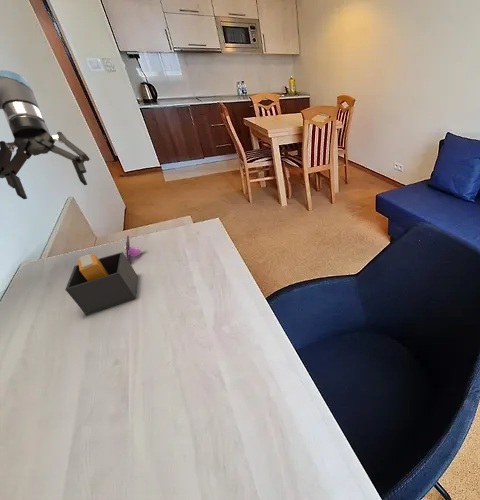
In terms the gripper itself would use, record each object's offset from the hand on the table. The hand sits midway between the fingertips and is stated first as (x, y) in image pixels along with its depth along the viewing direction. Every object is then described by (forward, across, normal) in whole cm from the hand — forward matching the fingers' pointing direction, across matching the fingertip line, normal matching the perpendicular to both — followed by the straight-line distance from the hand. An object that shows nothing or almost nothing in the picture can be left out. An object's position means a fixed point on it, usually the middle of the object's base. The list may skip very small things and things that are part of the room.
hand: (54, 189), depth 83 cm
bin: (+31, -1, -11) cm, 33 cm away
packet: (+30, 0, -10) cm, 32 cm away
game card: (+17, -8, -25) cm, 31 cm away
